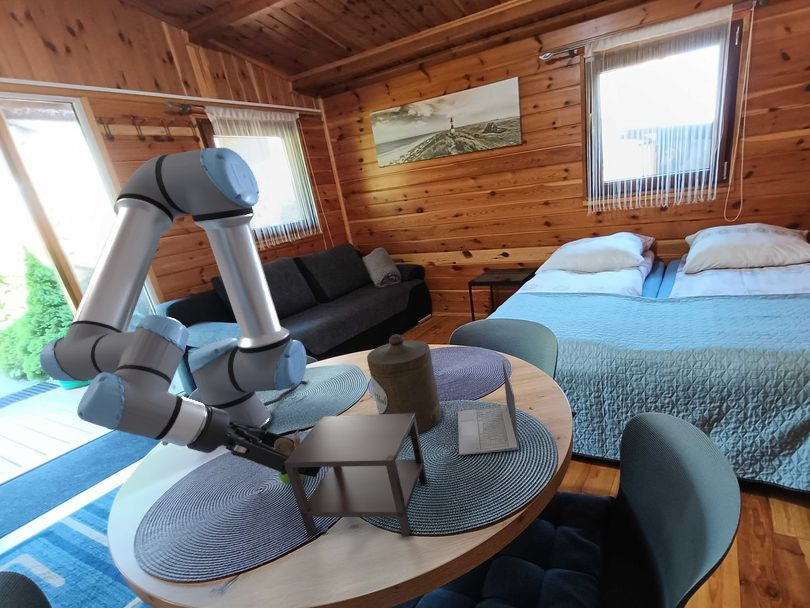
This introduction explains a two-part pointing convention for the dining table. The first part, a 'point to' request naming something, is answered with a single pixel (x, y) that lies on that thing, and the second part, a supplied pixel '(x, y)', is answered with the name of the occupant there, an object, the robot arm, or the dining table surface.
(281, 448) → the snail figurine
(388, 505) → the rack
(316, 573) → the dining table surface
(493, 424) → the laptop
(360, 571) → the dining table surface
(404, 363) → the wooden container
